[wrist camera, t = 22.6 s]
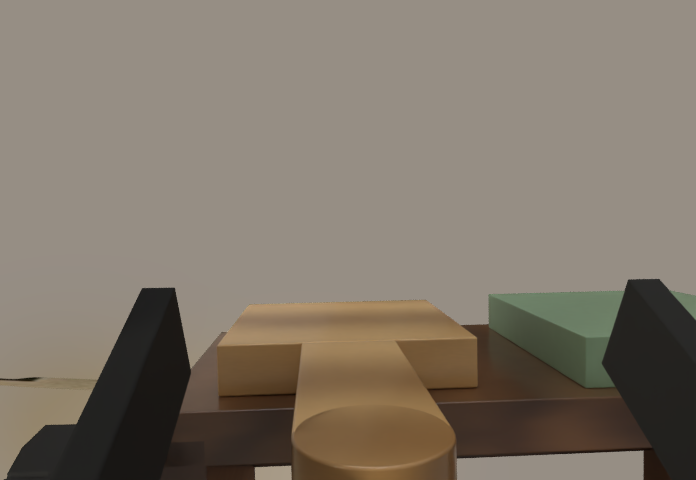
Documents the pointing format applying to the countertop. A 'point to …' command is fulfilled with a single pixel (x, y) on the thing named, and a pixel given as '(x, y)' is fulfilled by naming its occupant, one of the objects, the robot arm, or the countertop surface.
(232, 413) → the walnut stand
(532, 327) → the green board
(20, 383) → the countertop surface
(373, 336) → the beech board
